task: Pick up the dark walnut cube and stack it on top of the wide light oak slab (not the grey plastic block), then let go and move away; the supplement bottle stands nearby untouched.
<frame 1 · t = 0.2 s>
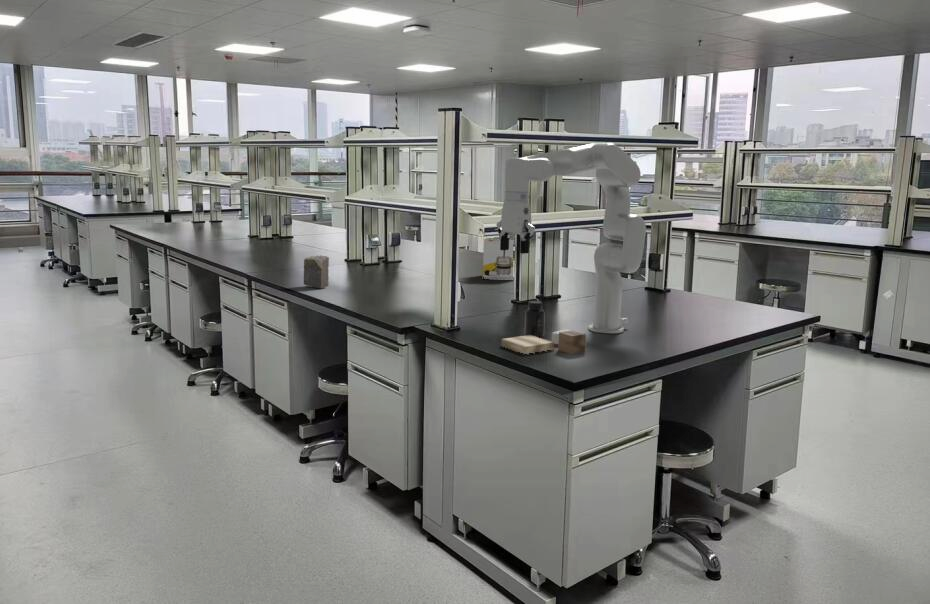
hand: (514, 251, 225), 31 cm above the table, tool pointing down, fingers open, 9 cm apart
walnut cube: (571, 351, 225), on the table
oak block: (527, 349, 228), on the table
packaging box: (498, 278, 373), on the table
geological specimen: (316, 287, 331), on the table
grey plastic block: (568, 344, 235), on the table
supplement bottle: (534, 336, 245), on the table
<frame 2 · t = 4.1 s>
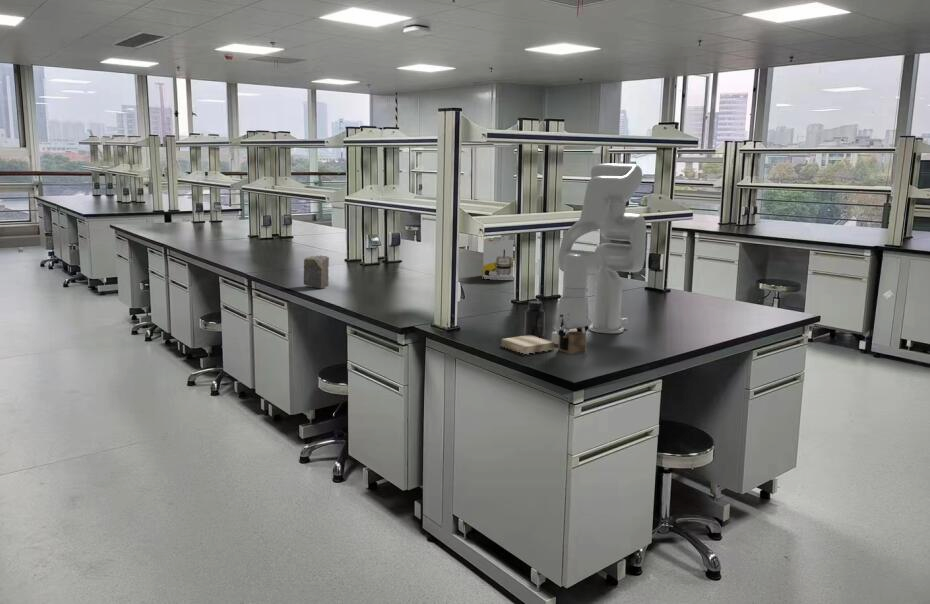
hand: (571, 347, 225), 1 cm above the table, tool pointing down, fingers closed on walnut cube, 6 cm apart
walnut cube: (571, 351, 225), on the table, touching gripper
everything else where it was.
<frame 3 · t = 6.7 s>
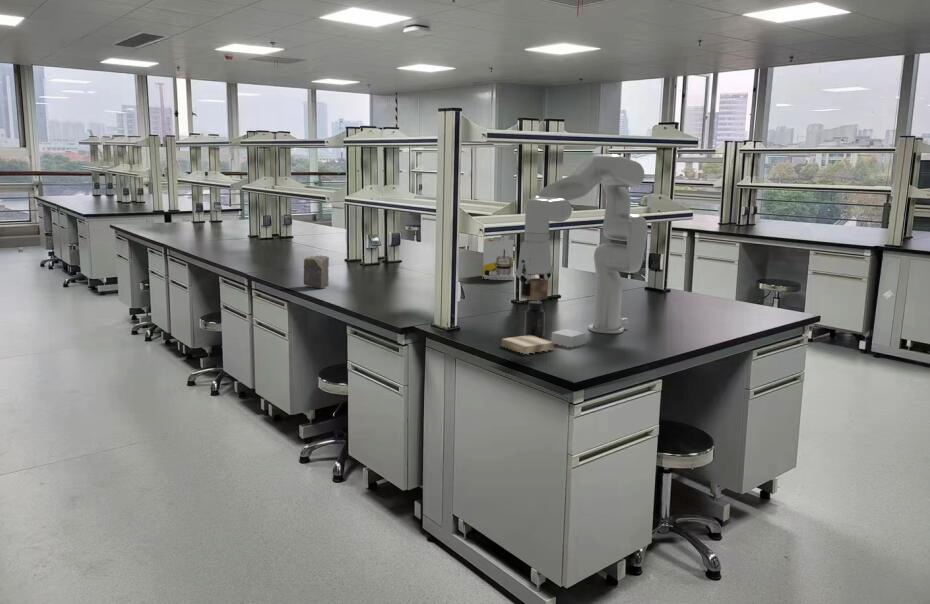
hand: (533, 294, 224), 18 cm above the table, tool pointing down, fingers closed on walnut cube, 6 cm apart
walnut cube: (533, 298, 224), point 17 cm above the table, touching gripper
everything else where it was.
when the fingers open (5 cm above the table, at t = 9.4 s): walnut cube drops 1 cm, resting on oak block.
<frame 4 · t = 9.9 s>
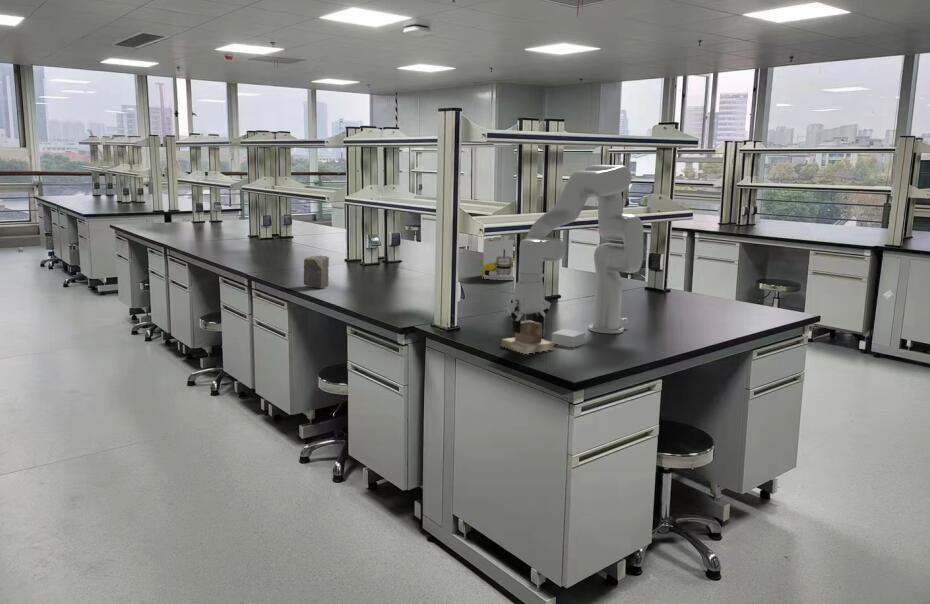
hand: (528, 330, 227), 6 cm above the table, tool pointing down, fingers open, 9 cm apart
walnut cube: (528, 340, 227), point 2 cm above the table, touching oak block
oak block: (527, 349, 228), on the table, touching walnut cube
everything else where it was.
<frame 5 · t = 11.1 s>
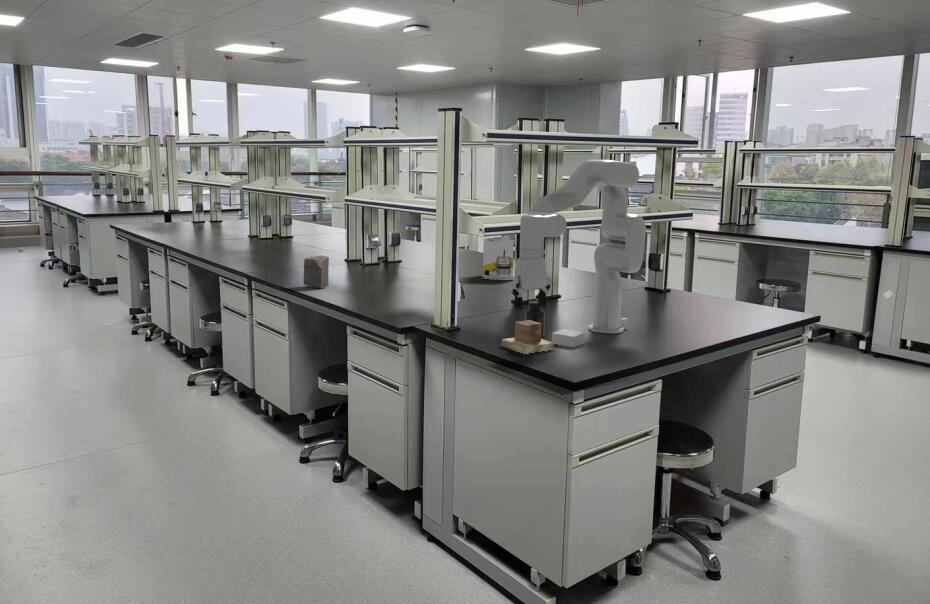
hand: (530, 307, 226), 13 cm above the table, tool pointing down, fingers open, 9 cm apart
nothing on the table moved.
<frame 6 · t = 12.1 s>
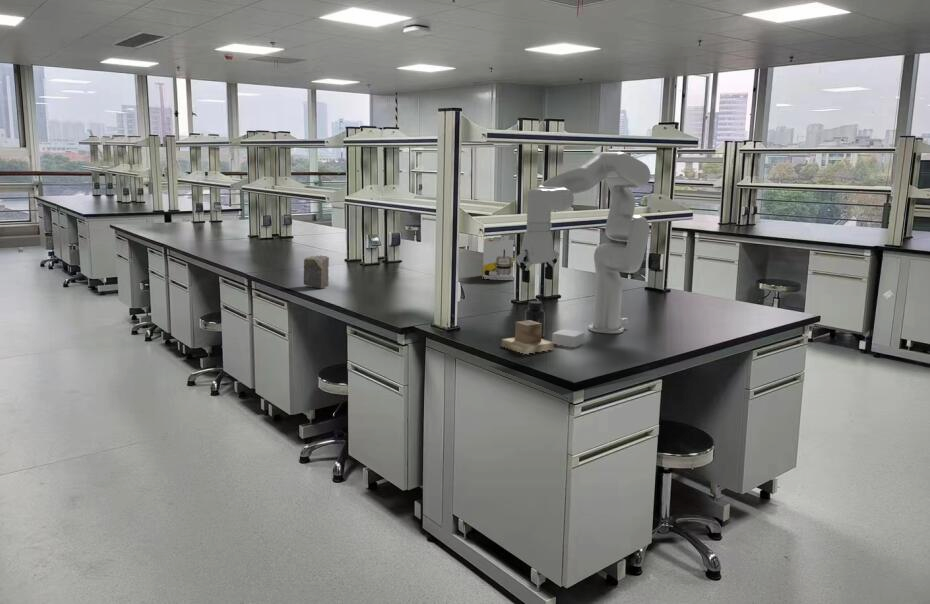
hand: (537, 280, 227), 22 cm above the table, tool pointing down, fingers open, 9 cm apart
walnut cube: (527, 340, 227), point 2 cm above the table
oak block: (527, 349, 228), on the table
everything else where it was.
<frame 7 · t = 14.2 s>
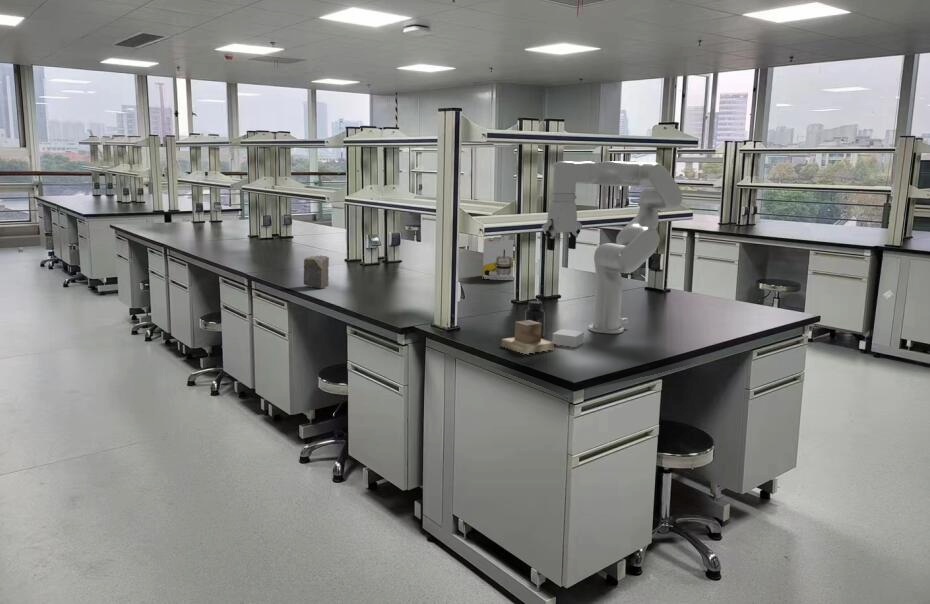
hand: (561, 249, 240), 30 cm above the table, tool pointing down, fingers open, 9 cm apart
walnut cube: (527, 340, 227), point 2 cm above the table, touching oak block
oak block: (527, 349, 228), on the table, touching walnut cube
everything else where it was.
at the end: walnut cube inside the target area on the oak block (0.1 cm from its centre), point 3.0 cm above the oak block's base; walnut cube tilted 0°; the gripper is holding nothing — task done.
